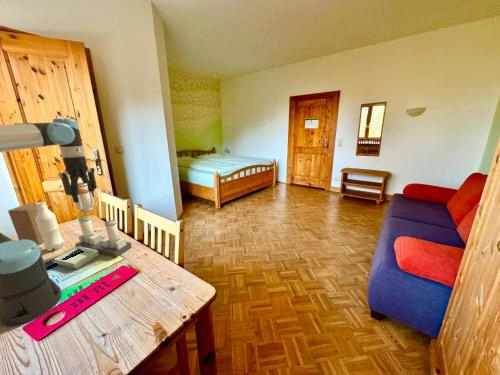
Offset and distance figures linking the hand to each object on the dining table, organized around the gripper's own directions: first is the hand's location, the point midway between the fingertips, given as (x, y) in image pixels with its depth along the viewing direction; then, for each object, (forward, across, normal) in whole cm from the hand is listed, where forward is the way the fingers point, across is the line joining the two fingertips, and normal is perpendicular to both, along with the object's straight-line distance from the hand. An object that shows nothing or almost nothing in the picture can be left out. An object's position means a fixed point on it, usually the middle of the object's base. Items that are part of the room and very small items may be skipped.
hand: (85, 206), depth 94 cm
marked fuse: (+2, 0, 0) cm, 2 cm away
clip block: (+24, +3, -1) cm, 24 cm away
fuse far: (+21, +3, +8) cm, 23 cm away
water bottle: (+25, -3, +24) cm, 35 cm away
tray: (+24, -7, +2) cm, 26 cm away
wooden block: (+25, 0, +42) cm, 49 cm away
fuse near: (+21, +3, -9) cm, 23 cm away
